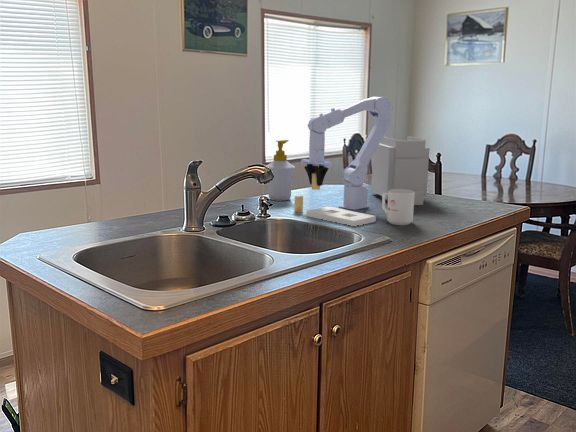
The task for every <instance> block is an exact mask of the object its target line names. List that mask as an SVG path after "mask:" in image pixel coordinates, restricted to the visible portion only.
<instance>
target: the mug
mask: <svg viewBox="0 0 576 432" xmlns="http://www.w3.org/2000/svg"><path fill="white" fill-rule="evenodd" d="M386 194H388V201H387V206H386V199H385V195H386ZM414 195H415V192H414V191H411V190H405V189H392V190H389V191H388V193H382V197H381V202H382V203H381V207H382V210H383V211H384V212H385V214H386V220H387V222H388V223H389V224H391V225H394V226H395V225H396V226H409V225H410V224H411V223H412V222H413V220H414V211H415V210H414V207H415V205H414Z"/></svg>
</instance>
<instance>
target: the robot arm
mask: <svg viewBox="0 0 576 432" xmlns="http://www.w3.org/2000/svg"><path fill="white" fill-rule="evenodd" d="M392 110H393V106H392V102H391V100H390V99H389V97H387V96H375V95H374V96H371V97H369V98H364V99H362V100H360V101H357V102H355V103H353V104H351V105H349V106H346V107H344V108H342V109H340V108H338V107H337V108H335V107H332V108H330V111H327V112H325V113H319V116H313V117H311V118H310V119H309V121H308V123H307V128H308V130H309V143H308V144H309V147H308V151H309V152H308V153H309V154H308V158H302V159H300V160H301V163H300V164H301V165H305V166H304V170H305V171H306V175H307V176H308V181H309V185H311V186H312V173H316V176H317V186H320V187H321V186H323V184H324V179H325V176H326V175H327V173H328V171H329V169H333V162H331V161H326V160H325V148H326V147H325V140H326V139H325V138H326V137H325V134H326V133H325V132H326V131H327V130H328V129H330V128H333V127H335V126H337V125H340V124H342V123H344V121H345V119H346V118H348V117H350V116H352V115H356V114H359V113H361V112H364V111H365V112H366V111H368V112H369V114H371V116H372V118H373V120H374V121H373V122H374V125H373V126H372V128H371V130H370V132H369V133H368V136H367V137H366V139H365V141H364V143H363V144H362V146H361V148H360V150H359V152H357V155H356V157H355V158H354V159H353V160H352V161H351V162H350V163H349V165H348V166H347V167H345V168H344V169H343V170H342V176H341V177H342V178H343V181H344V183H343V204H342V205H338V208H340V209H345V210H350V211H356V210H360V209H367V208H369V205H368V193H369V191H368V188H367V186H366V185H364V182H365V181H366V177H367V176H366V175H367V174H368V169H369V168H368V165H369V163H370V161H371V159H373V154H374V152H375V151H376V149H377V147H378V145H379V144H380V142H381V140H382V138H383V136H384V137H385V135H386V133H387V131H388V129H389V127H390V126H391V116H392V115H391V114H392V113H391V112H392Z"/></svg>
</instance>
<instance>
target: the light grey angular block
mask: <svg viewBox="0 0 576 432" xmlns="http://www.w3.org/2000/svg"><path fill="white" fill-rule="evenodd" d="M426 141H427V140H426V139H424V138H421V137H420V138H419V137H415V136H410V135H409V136H408V135H407V137H406V140H398V139H396V138H391V137H387V136H385V135H384V136H383V138H382V140H381V142H380V144H379V145H378V147H377V149H376V151H375V152H374V154H373V156H372V167H371V168H372V170H371V172H372V173H371V188H370V189H371V190H370V191H372V192H373V193H376V194H377V195H379V196H381V198H382V193H388V191H389V190H392V189H405V190H411V191H414V192H415V195H414V206H424V201H425V200H424V199H425V198H424V197H427V191H428V190H427V189H428V177H429V165H430V163H429V161H430V150H431V149H430V147H427V146H426V143H427V142H426ZM385 201H387V202H388V194H386V195H385Z"/></svg>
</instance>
